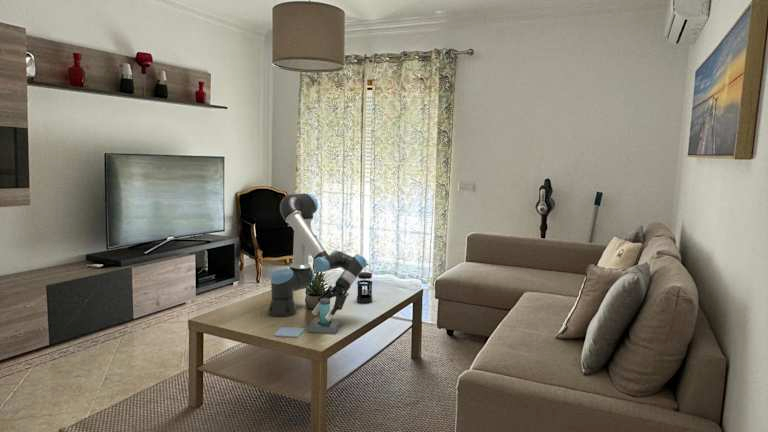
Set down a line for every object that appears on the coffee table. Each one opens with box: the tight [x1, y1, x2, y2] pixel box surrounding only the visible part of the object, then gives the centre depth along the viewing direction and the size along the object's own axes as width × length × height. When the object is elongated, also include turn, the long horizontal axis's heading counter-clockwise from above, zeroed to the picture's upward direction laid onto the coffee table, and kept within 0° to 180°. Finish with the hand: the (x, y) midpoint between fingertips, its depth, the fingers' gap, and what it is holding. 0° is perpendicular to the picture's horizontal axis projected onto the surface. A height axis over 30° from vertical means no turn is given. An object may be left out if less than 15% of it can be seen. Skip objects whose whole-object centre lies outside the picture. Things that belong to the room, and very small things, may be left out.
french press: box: [356, 262, 373, 305], centre depth 314 cm, size 12×9×23 cm
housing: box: [306, 317, 343, 335], centre depth 266 cm, size 14×14×3 cm
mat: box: [273, 326, 306, 339], centre depth 259 cm, size 12×12×1 cm
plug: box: [319, 298, 331, 325], centre depth 266 cm, size 5×5×15 cm
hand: (320, 316), depth 264 cm, fingers open, 10 cm apart
